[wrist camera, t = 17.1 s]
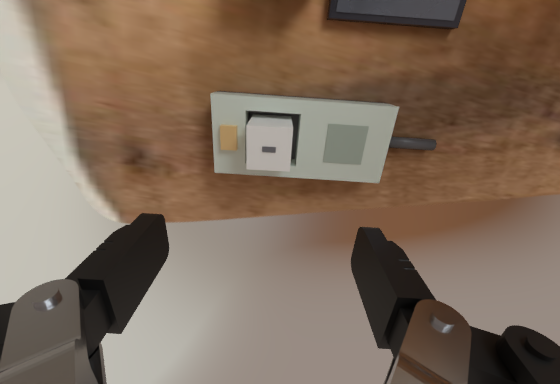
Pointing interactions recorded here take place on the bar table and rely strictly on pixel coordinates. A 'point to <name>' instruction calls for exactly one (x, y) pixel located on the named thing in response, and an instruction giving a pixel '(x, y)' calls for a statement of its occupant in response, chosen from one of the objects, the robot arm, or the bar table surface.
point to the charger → (269, 142)
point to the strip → (311, 135)
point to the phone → (399, 12)
